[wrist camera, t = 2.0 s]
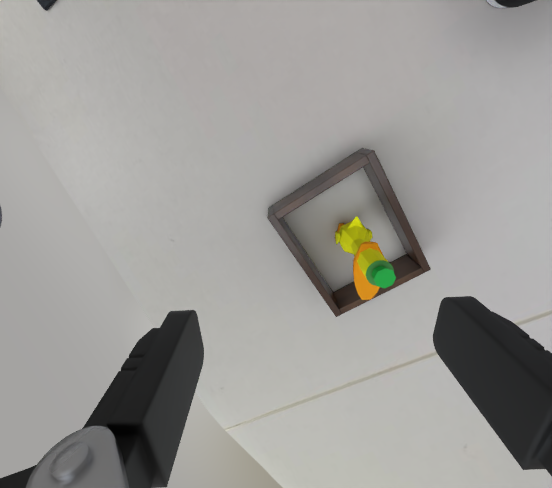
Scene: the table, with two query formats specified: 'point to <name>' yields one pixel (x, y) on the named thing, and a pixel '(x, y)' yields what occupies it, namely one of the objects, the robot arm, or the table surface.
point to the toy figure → (365, 259)
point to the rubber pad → (46, 3)
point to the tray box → (367, 159)
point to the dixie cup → (508, 3)
